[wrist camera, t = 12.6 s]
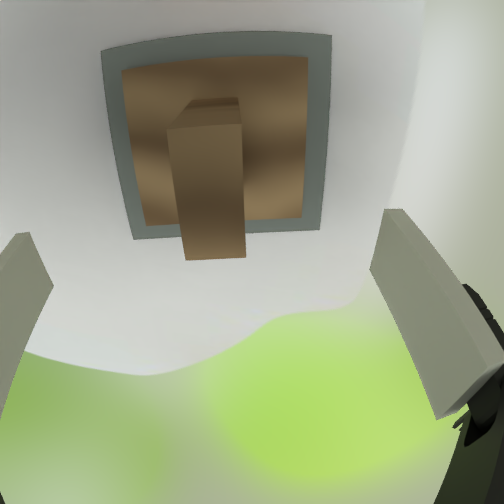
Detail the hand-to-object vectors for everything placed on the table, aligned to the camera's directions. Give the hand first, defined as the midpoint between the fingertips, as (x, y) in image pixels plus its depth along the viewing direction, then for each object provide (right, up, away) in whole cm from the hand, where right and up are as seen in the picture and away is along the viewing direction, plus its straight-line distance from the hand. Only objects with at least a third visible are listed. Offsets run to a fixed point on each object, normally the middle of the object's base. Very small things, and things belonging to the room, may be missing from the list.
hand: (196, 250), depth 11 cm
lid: (-1, +8, +12) cm, 15 cm away
